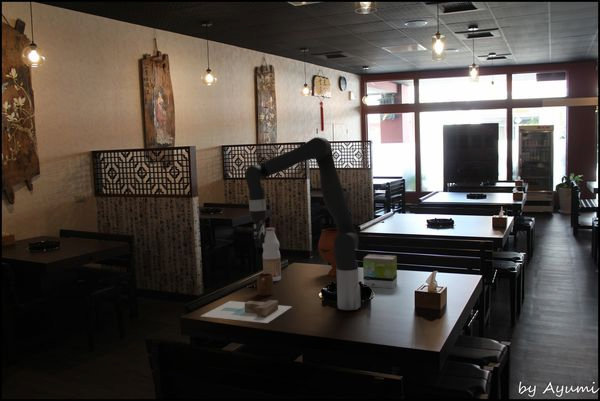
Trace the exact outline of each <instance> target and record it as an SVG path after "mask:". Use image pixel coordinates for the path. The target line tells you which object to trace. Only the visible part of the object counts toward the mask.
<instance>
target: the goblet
mask: <svg viewBox="0 0 600 401" xmlns="http://www.w3.org/2000/svg"><path fill="white" fill-rule="evenodd" d="M337 235H338V230H337V227H335V228H332V227H331V228H325V229H322V230H321V234H320V237H319V241H318V245H317V251H318V254H319V255H320V257H321V258H322V259H323V260H324V261H325V262H327V263H329V264H330V267H331V269H329V270H328V273H327V274H328V276H332V277H334V276H335V277H337V268H336V263H335V257H334V240H335V237H336V236H337Z"/></svg>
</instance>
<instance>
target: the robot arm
mask: <svg viewBox="0 0 600 401" xmlns="http://www.w3.org/2000/svg"><path fill="white" fill-rule="evenodd" d="M309 160H315V161H316V164H317V167H318V171H319V179H320V180H319V181H320V192H321V195H322V198H323V201H324V205H325V207H326V209H327V211H328V212H329V214H330V215H331V217H332V218H333V221H334V223H335V227H336V228H337V230H338V235H337V236H336V237H335V240H334V257H335V263H336V268H337V276H336V291H337V292H336V293H337V294H336V295H337V309H338V310H342V311H354V310H355V311H357V310H358V309H359V308H361V307H362V306H361V286H360V285H361V284H359V262H358V261H357V259H356V249H357V248H358V246H359V244H360V243H359V242H360V240H359V236H358V233H357V231H356V228H355V226H354V223H353V220H352V217H351V215H350V210H349V206H348V204H347V203H348V202H347V200H346V199H347V198H346V195H345V191H344V188H343V184H342V182H341V179H340V176H339V174H338V170H337V168H336V165H335V161H334V160H335V159H334V155H333V150H332V146H331V143H330V141H329V140H328V139H326V137H322V136H315V137H313V138H311V139H310V140H308V141H307V142H305V143H303V144H302V145H300V146H298V147H296V148H294V149H291V150H290V151H287V152H284V153H281V154H279V155H276V156H273V157H271V158H269V159H267V160H266V161H264V162H262V163H259V164H255V165H250V166H248V167H247V168H246V170H245V174H244V175H245V181H246V185H247V188H248V199H249V201H248V202H249V204H248V205H249V206H248V207H249V208H248V209H249V219H250V221H252V222H254V223H252V224H251V226H252V238H254V246H255V247H256V248H257V247H258V248H259V247H261V245H263V244H264V243H265V236H266V220H267V217H268V216H267V203H266V194H265V192H266V191H265V187H263V185H262V180H264V179H267V178H269V177H270V176H272V175H275V174H278V173H281V172H283V171H286V170H288V169H290V168H291V167H293V166H296V165H297V164H299V163H302V162H305V161H309Z"/></svg>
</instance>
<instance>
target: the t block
mask: <svg viewBox="0 0 600 401" xmlns="http://www.w3.org/2000/svg"><path fill="white" fill-rule="evenodd" d="M278 305H279V300H277V299H275V300H273V299H268V300H267V301H265V302H264V301H255V300H248V301H246V303H245V313H255V314H257V317H263V318H266V317H267V316H269V315H271V314H272V313H274V312H275V311H277V310H278Z"/></svg>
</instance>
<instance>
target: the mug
mask: <svg viewBox="0 0 600 401" xmlns="http://www.w3.org/2000/svg"><path fill="white" fill-rule="evenodd" d="M256 284H257V286H256V287H257V288H256V289H257V295H258V296H260V297H267V296H272V295H274V281H273V277H272V274H264V273H260V274H257V276H256Z"/></svg>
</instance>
